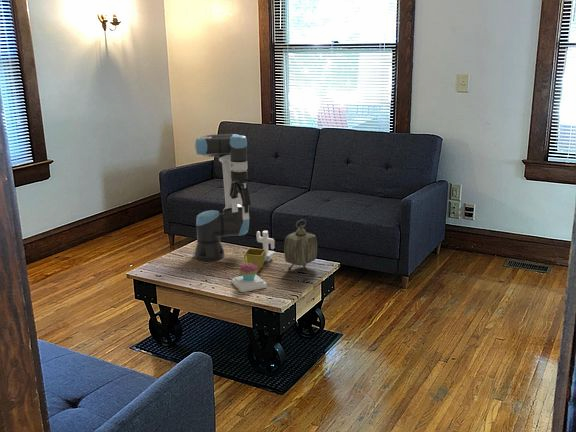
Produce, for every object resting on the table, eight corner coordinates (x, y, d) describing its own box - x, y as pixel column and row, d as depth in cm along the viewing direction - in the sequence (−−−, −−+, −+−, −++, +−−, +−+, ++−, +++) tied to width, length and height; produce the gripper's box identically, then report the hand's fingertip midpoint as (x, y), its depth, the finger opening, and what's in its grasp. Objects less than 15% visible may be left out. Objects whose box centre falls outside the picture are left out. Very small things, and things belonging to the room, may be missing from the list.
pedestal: (232, 282, 275) (231, 276, 274) (256, 278, 280) (256, 272, 279) (241, 292, 265) (241, 285, 264) (266, 287, 270) (266, 281, 269)
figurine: (271, 263, 299) (270, 234, 295) (254, 260, 303) (253, 232, 299) (277, 258, 305) (277, 230, 301) (260, 256, 309) (260, 228, 305)
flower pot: (261, 273, 286) (261, 255, 284) (243, 272, 288) (243, 254, 285) (266, 266, 295) (265, 249, 292) (248, 265, 296) (248, 248, 294)
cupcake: (251, 283, 266) (251, 258, 263) (235, 280, 270) (234, 254, 267) (261, 277, 273) (261, 252, 270) (246, 273, 277) (245, 249, 274)
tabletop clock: (304, 263, 299) (304, 214, 292) (318, 267, 293) (318, 218, 286) (284, 271, 289) (283, 221, 282) (298, 275, 283) (298, 224, 276)
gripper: (221, 166, 281) (223, 210, 287) (241, 176, 259) (242, 223, 265) (236, 164, 284) (238, 208, 290) (257, 174, 262) (258, 221, 268)
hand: (240, 215), depth 277 cm, fingers open, 13 cm apart
